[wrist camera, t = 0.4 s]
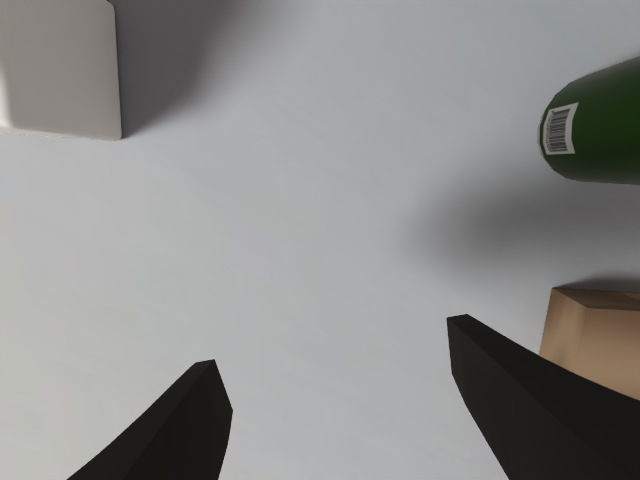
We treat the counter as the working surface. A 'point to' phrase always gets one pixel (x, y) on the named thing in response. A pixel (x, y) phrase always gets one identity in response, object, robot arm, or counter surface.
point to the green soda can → (595, 127)
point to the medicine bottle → (59, 69)
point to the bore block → (595, 337)
